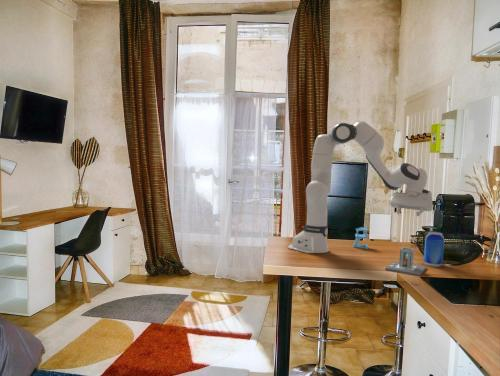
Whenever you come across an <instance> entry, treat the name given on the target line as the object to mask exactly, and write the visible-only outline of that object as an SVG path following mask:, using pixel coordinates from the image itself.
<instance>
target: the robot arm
mask: <svg viewBox="0 0 500 376" xmlns="http://www.w3.org/2000/svg"><path fill="white" fill-rule="evenodd" d="M350 141H355V142H356V143H358V145H359V146H360V147H361V148H362V149H363V151H364V152H365V156H366V160H367V161H368V163H369V164H370V166H371V167H372V169H374V171H375V172H376V173H377V174H378V176H379V177H380V178H381V181H382V182H383V184H384V185H385V187H386V188H387V189H389V190H391V191H396V192H394V193H392V195H391V198H390V201H389V205H390V207H392V208H396V214H398V215H401V209H405V210H415V211H416V214H415V215H416V217H420V216H421V214H423V213H424V212H431V211H432V210H433V194H432V191H431V190H428V189H426V186H427V181H428V174H427V172H426V170H425V169H423V168H421V167H415V166H414V165H412V164H410V163H408V162H405V163H401V164H400V165H398V166H397V167H395V168H394V169H392V170H389V169H388V168H387V166H386V165H385V164H384V162H383V161H382V159H381V154H382V151H383V149H384V146H385V141H384V138H383V136H382V135H381V134H380V133H379V132H378V131H377V130H376V129H374V127H372V126H371V125H369V123H367V122H366V121H363V120H359V121H357V122H355V123H354V124H351V123H347V122H340V123H336V124H335V125H334V126H333V127H331V130H330V131H329V132H328V133H327V134H325V133H324V134H323V133H322V134H319V135H318V136H316V138H315V141H314V144H313V147H312V148H313V149H312V155H311V156H312V157H311V165H310V171H311V172H310V173H311V174H310V175H311V177H310V178H311V179H310V180H311V181H310V182H309V183H308V184H307V186H306V188H305V197H306V200H305V201H306V210H307V211H306V224H304V225H302V227H301V228H302V229H303V230H301V232H299V233H297V234H296V235H295V236H294V237H292V238H293V239H292V242H291V244H289V245H288V246H287V249H290V250H292V251H297V252H301V253H307V254H325V253H329V247H328V238H327V237H328V231H329V230H328V228H329V227H328V202H327V201H328V197H329V195H330V194H331V185H332V184H331V183H332V169H333V167H332V166H333V160H334V159H333V158H334V152H335V147H336V146H337V145H344V144H347V143H348V142H350ZM404 185H406V188H405V191H404V192H399V191H398V192H397V190H399V189H400V188H401V187H403V186H404Z"/></svg>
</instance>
